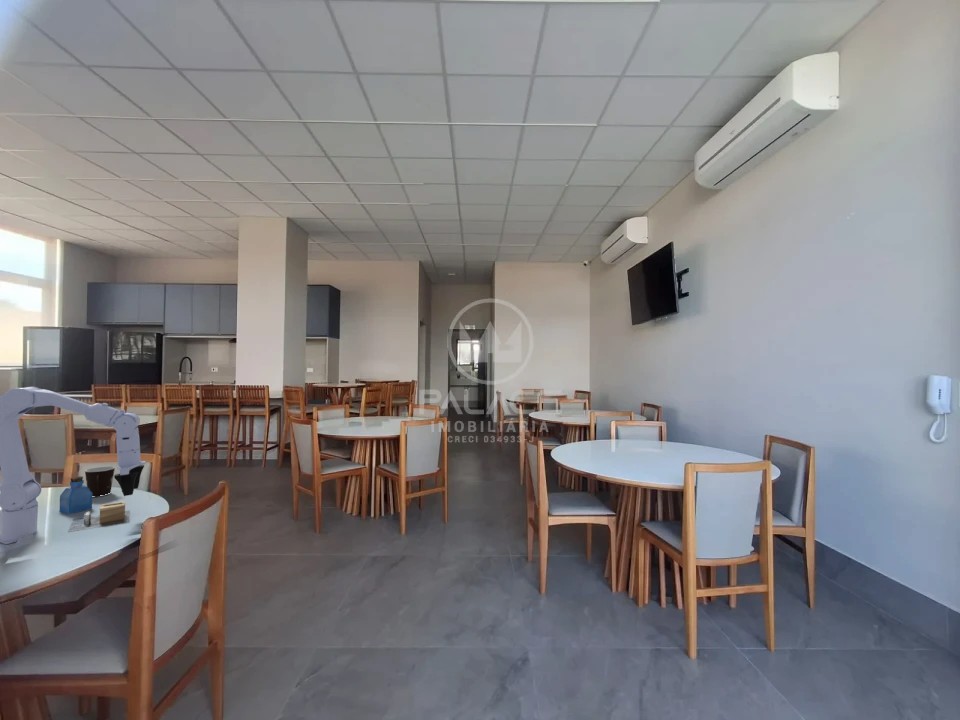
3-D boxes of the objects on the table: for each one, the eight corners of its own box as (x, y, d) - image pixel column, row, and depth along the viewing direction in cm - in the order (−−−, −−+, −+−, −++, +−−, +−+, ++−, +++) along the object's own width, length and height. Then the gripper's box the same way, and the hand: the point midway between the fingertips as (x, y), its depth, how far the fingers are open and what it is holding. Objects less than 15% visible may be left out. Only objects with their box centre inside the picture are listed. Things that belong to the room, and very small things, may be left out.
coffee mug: (94, 491, 166) (95, 466, 166) (119, 491, 167) (120, 466, 167) (71, 501, 154) (72, 474, 154) (98, 500, 156) (99, 473, 156)
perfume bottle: (91, 511, 144) (92, 476, 145) (68, 517, 139) (69, 481, 139) (82, 508, 147) (83, 474, 147) (59, 513, 141) (60, 478, 142)
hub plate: (67, 535, 124) (67, 522, 124) (73, 522, 134) (73, 510, 134) (128, 524, 133) (129, 512, 133) (129, 513, 143) (130, 501, 143)
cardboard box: (124, 518, 135) (124, 504, 135) (99, 523, 131) (99, 508, 131) (124, 514, 139) (125, 500, 139) (100, 518, 135) (101, 503, 135)
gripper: (139, 452, 130) (142, 495, 131) (148, 444, 143) (151, 483, 143) (110, 456, 127) (112, 500, 127) (122, 447, 139) (124, 487, 140)
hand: (131, 491), depth 135 cm, fingers open, 7 cm apart
